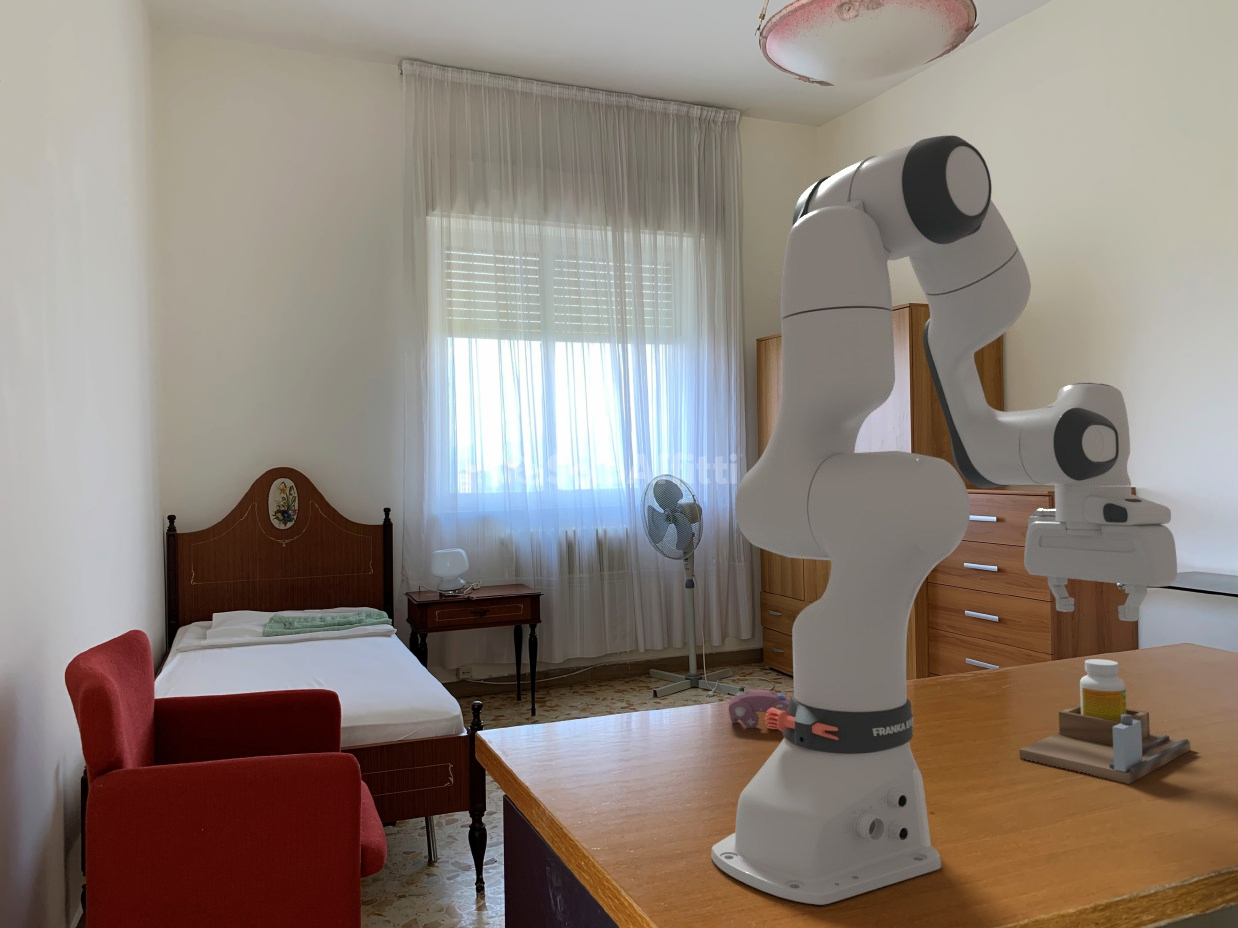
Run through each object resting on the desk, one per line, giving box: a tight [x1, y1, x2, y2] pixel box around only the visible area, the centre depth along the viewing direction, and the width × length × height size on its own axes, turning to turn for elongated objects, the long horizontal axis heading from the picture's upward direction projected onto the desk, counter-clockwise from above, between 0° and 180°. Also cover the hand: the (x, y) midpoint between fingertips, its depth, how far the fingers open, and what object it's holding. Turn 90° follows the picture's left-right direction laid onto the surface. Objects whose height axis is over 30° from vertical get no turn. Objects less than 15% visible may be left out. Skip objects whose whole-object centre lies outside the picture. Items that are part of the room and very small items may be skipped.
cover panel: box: [1112, 714, 1142, 772], centre depth 105 cm, size 5×1×6 cm, turn 129°
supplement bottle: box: [1079, 658, 1127, 721], centre depth 118 cm, size 5×5×10 cm
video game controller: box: [728, 689, 791, 729], centre depth 130 cm, size 10×5×7 cm, turn 78°
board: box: [1019, 703, 1192, 785], centre depth 114 cm, size 19×13×4 cm
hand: (1095, 615), depth 115 cm, fingers open, 8 cm apart
